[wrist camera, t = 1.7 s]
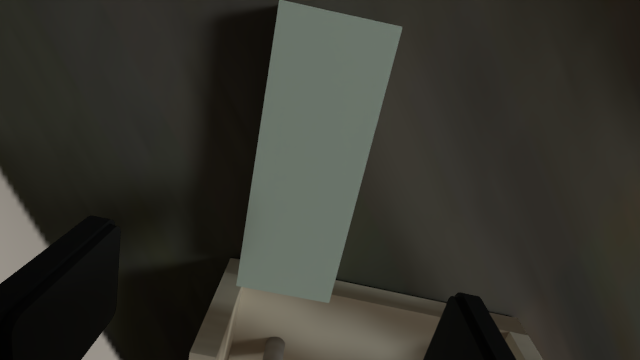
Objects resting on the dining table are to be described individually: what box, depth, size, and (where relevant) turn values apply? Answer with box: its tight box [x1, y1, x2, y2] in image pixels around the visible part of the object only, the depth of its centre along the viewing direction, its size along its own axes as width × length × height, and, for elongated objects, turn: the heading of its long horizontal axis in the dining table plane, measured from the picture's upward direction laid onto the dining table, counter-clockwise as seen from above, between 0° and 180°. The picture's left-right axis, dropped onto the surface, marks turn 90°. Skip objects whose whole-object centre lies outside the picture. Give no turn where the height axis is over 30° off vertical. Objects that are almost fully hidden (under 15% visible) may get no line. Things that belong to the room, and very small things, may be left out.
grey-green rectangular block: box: [236, 0, 402, 303], centre depth 20 cm, size 14×5×4 cm, turn 168°
